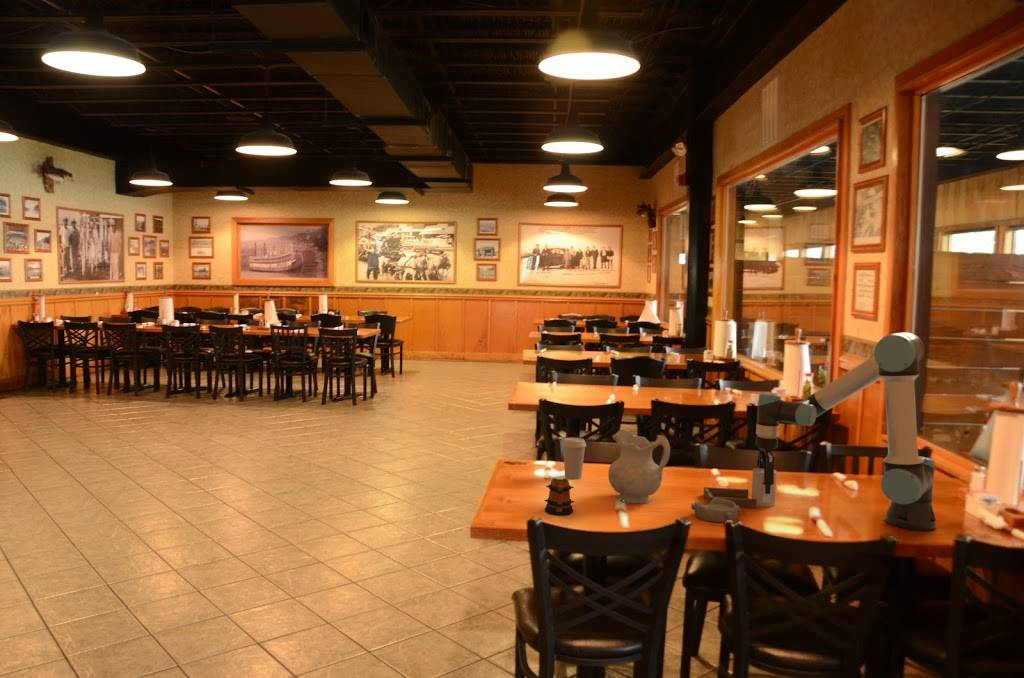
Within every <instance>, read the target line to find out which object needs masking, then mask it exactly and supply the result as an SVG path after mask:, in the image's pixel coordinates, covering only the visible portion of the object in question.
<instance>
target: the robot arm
mask: <svg viewBox="0 0 1024 678" xmlns="http://www.w3.org/2000/svg"><path fill="white" fill-rule="evenodd" d="M873 352H874V353H873V356H872V357H870V358H868V359H867V360H865V361H863V362H862V363H860V364H858V365H857V366H856V367H853V368H852V369H851V370H849V371H847V372H846V373H844V374H841V376H840V377H838V378H836V379H835V380H832V381H831V382H830V383H828V384H827V385H825V386H823V387H822V388H820V389H818V390H817V391H815V392H814V393H812V394H810V395H809V396H807V397H805V398H803V399H802V400H798V401H786V400H783V399H782V397H781V395H780V394H779V393H776V392H775V393H774V392H761V393H760V394H759V395H758V401H757V411H756V412H757V413H756V414H757V416H756V417H757V418H756V427H755V428H756V429H755V434H756V436H755V446H756V447H757V457H756V458H757V459H756V467H755V468H764V482H763V483H762V484H763V496H762V502H769V503H770V502H771V486H772V484H774V470H775V459H776V458H775V457H776V456H774V454H773V450H775V449H777V448H779V447H778V446H779V445H778V444H779V443H778V442H779V438H778V437H779V431H780V430H781V427H779V426H780V423H787V424H792V425H799V426H805V427H806V426H807V427H808V426H809V427H811V426H813V425H814V424H815V422H816V419H817V418H818V417H820V416H822V415H823V414H824V413H826V412H827V411H828V410H829V411H830V410H831V409H832V408H833V407H836V406H837V405H838V404H840V403H842V402H844V401H846V400H847V399H849V398H850V397H851V398H852V396H854V395H856V394H857V393H858V392H861V391H862V390H864V389H865V388H868V387H869V386H871V385H873V384H874V383H876V382H878V381H879V380H880V379H882V380H883V382H884V395H885V396H884V400H885V401H884V402H885V418H886V433H887V434H886V437H887V440H886V441H887V455H886V457H884V458H883V460H882V462H883V475H882V477H881V478H880V479H881V480H880V487H881V491H882V493H883V495H884V496H885V497H886V498H887V499H888V500H890V503H889V506H888V508H887V511H886V512H885V521H886V522H887V523H889V524H890V525H893V526H895V527H899V528H903V529H906V530H907V529H908V530H912V529H915V530H914V531H932V530H931V529H933V530H935V529H936V528H937V519H936V518H937V517H936V514H935V511H934V510H935V509H934V508H933V494H934V493H933V491H934V483H935V482H934V480H935V470H936V463H935V462H936V461H935V460H934V459H932V458H931V457H925V456H919V449H918V445H919V444H918V431H917V430H918V429H917V427H918V426H917V410H916V409H917V408H916V406H917V405H916V388H915V380H916V379H917V378H918V377H919V376H920V361H921V360H922V358H923V356H924V354H925V346H924V343H923V341H922V340H921V338H920V337H919V336H918V335H916V334H914V333H912V332H907V331H902V332H895V333H889V334H887V335H885V336H883V337H882V338H881V339H880V340H878V341H877V343H876V345H875V346H874V349H873ZM934 528H935V529H934Z"/></svg>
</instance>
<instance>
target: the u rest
mask: <svg viewBox="0 0 1024 678" xmlns="http://www.w3.org/2000/svg"><path fill="white" fill-rule="evenodd" d="M749 492H750V491H749V489H748V488H731V487H729V488H728V487H710V486H709V487H707V486H703V493H702V495H703V496H704V498H705V500H706V502H707V503H708V504H709V503H710V502H711V501H712V499H713V498H719V499H725V500H730V501H732V502H734V503H735V504H736V506H739V507H740V509H757V505H756V502H757V500H756V499H751V498H749ZM708 504H707V505H708Z"/></svg>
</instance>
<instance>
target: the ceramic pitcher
mask: <svg viewBox="0 0 1024 678" xmlns="http://www.w3.org/2000/svg"><path fill="white" fill-rule="evenodd" d="M612 439H613V440H614V441H615V442H616V443H617V444H618V446H619V449H620V453H619V454H620V455H619V457H618V458H617V459H616V460H615V461H613V462H612V463H611V464H610V465H609V467H608V480H609V481H608V482H609V483H610V485H611V487H612V488H613V490H614V491H615V492H617V493H619V495H618V499H619V500H620V499H622V500H624V501H625V503H627V504H631V505H632V504H649V503H650V502H651V501H652V499H651V498H650V496H652V495H654V494H655V493H656V492H657V491H658V489H659V488H660V486H661V485H662V481H663V470H664V468H665V467H666V466H667V464H668V462H669V460H670V456H671V445H670V443H669V440H668V437H667V436H666V435H664V434H658V435H656V439H655V441H649V440H648V439H647V438H646V437H645V436H637V435H636V436H635V435H633V433H632V432H631V431H627V430H626V429H620V430H617V432H616V433H614V434H612ZM659 446H662V447H663V450H664V452H663V453H664V454H663V456H662V458H661V460H660V462H659V465H658V464H657V463H656V462H655V461H654V459H653V451H654V449H656V448H657V447H659ZM624 501H623V502H624Z"/></svg>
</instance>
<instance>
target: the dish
mask: <svg viewBox="0 0 1024 678" xmlns="http://www.w3.org/2000/svg"><path fill="white" fill-rule="evenodd" d="M690 508H691V510H693V511H694V514H695V516H696V517H697V518H699V519H701V520H703V521H707V522H713V523H726V522H725V521H727V520H734V521H735V520H737V518H738V513H740V512H741V511H740V509H741V508H740V507H739V506H736V504H735V503H734V502H732V501H730V500H725V499H719V498H713V499H712V501H711V502H710V503H709V504H706V505H705V504H704V505H703V504H702V503H701V502H700V501H699V500H695V501H694V502H692V503H691V504H690Z"/></svg>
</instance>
